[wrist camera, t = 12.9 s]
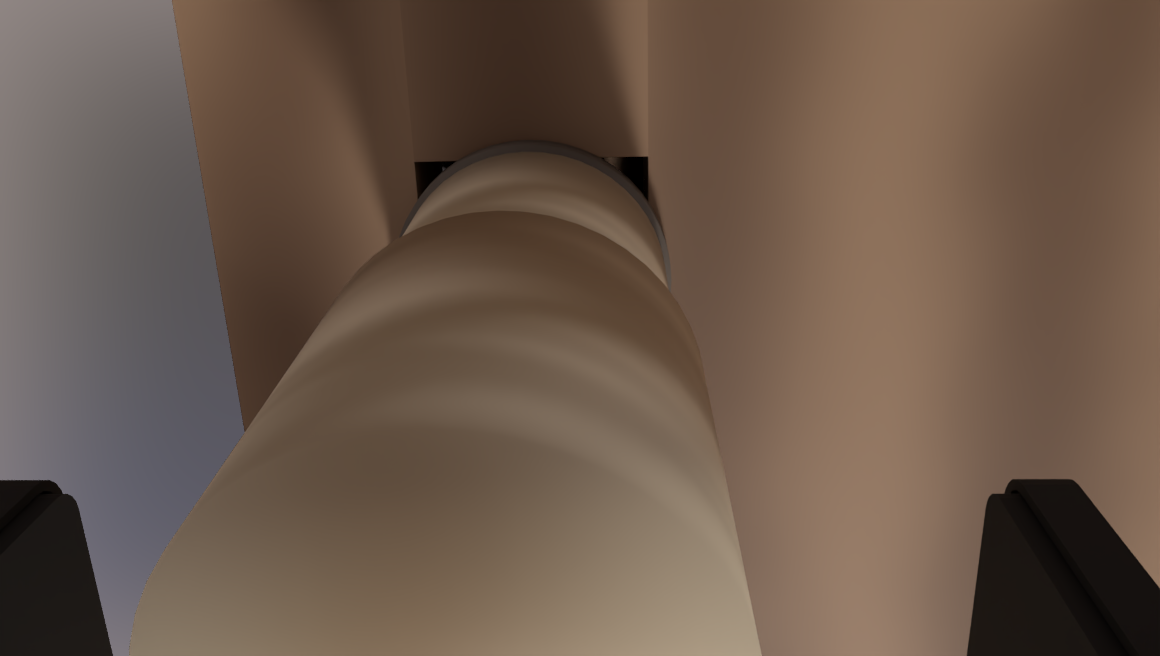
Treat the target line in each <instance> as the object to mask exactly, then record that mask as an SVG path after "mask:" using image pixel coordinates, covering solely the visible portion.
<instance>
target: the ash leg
mask: <svg viewBox="0 0 1160 656" xmlns="http://www.w3.org/2000/svg"><path fill="white" fill-rule="evenodd" d="M129 647H130V648H129V656H762V654H761V649H760V645H759V640H758V635H757V630H756V625H755V620H754V615H753V610H752V605H751V600H750V595H749V591H748V586H747V581H746V576H745V571H744V566H743V561H742V556H741V551H740V546H739V542H738V537H737V532H736V527H735V522H734V517H733V512H732V507H731V502H730V497H729V492H728V488H727V483H726V478H725V473H724V468H723V463H722V458H721V453H720V448H719V443H718V439H717V434H716V429H715V424H714V419H713V414H712V409H711V404H710V399H709V394H708V389H707V385H706V380H705V375H704V370H703V365H702V360H701V355H700V350H699V347H698V345H697V342H696V339H695V336H694V334H693V331H692V328H691V326H690V324H689V322H688V320H687V318H686V316H685V314H684V313H683V311H682V309H681V307H680V305H679V304H678V302H677V301H676V300H675V298H674V297H673V295H672V294H671V266H670V259H669V253H668V249H667V244H666V239H665V236H664V233H663V230H662V227H661V225H660V222H659V220H658V218H657V216H656V214H655V212H654V210H653V208H652V206H651V205H650V203H649V202H648V201H647V199H646V198H645V196H644V195H643V194H642V192H641V191H640V190H639V189H638V188H637V187H636V186H635V184H634V183H633V182H632V181H631V180H630V179H629V178H628V177H627V176H625V175H624V174H623V173H622V172H621V171H619V170H618V169H617V168H616V167H614V166H613V165H611V164H610V163H608V162H606V161H605V160H603V159H602V158H600V157H598V156H596V155H594V154H592V153H590V152H587V151H585V150H583V149H580V148H577V147H574V146H570V145H567V144H563V143H558V142H552V141H546V140H519V141H509V142H504V143H500V144H495V145H491V146H488V147H485V148H483V149H480V150H477V151H475V152H472V153H471V154H469V155H467V156H465V157H463V158H461V159H459V160H458V161H456V162H455V163H453V164H452V165H451V166H449V167H448V168H446V169H445V170H444V171H443V172H442V173H440V174H439V175H438V176H437V177H436V178H435V179H434V180H433V181H432V182H431V183H430V184H429V186H428V187H427V188H426V189H425V191H424V192H423V193H422V194H421V196H420V197H419V199H418V200H417V202H416V203H415V205H414V207H413V208H412V210H411V212H410V214H409V215H408V217H407V219H406V221H405V223H404V226H403V228H402V231H401V233H400V236H399V238H398V239H396V240H395V241H393V242H392V243H390V244H389V245H388V246H386V247H385V248H383V249H382V250H381V251H379V252H378V253H376V254H375V255H374V256H373V257H372V258H371V259H370V260H369V261H368V262H366V263H365V264H364V265H363V266H362V267H361V268H360V269H359V270H358V271H357V272H356V273H355V275H354V276H353V277H352V278H351V280H350V281H349V282H348V283H347V285H346V286H345V287H344V288H343V290H342V291H341V292H340V294H339V295H338V297H337V298H336V300H335V301H334V303H333V304H332V306H331V307H330V309H329V310H328V311H327V313H326V314H325V316H324V317H323V319H322V320H321V322H320V323H319V325H318V326H317V328H316V329H315V331H314V332H313V333H312V335H311V336H310V338H309V339H308V341H307V342H306V344H305V345H304V347H303V348H302V350H301V351H300V352H299V354H298V355H297V357H296V358H295V360H294V361H293V363H292V364H291V366H290V367H289V369H288V370H287V371H286V373H285V374H284V376H283V377H282V379H281V380H280V382H279V383H278V385H277V386H276V388H275V389H274V390H273V392H272V393H271V395H270V396H269V398H268V399H267V401H266V402H265V404H264V405H263V407H262V408H261V409H260V411H259V412H258V414H257V415H256V417H255V418H254V420H253V421H252V423H251V424H250V426H249V427H248V428H247V430H246V431H245V433H244V434H243V436H242V437H241V439H240V440H239V442H238V443H237V445H236V446H235V448H234V449H233V450H232V452H231V453H230V455H229V457H228V458H227V459H226V461H225V462H224V464H223V465H222V467H221V468H220V469H219V471H218V472H217V474H216V475H215V477H214V478H213V480H212V481H211V483H210V484H209V486H208V487H207V488H206V490H205V492H204V493H203V494H202V496H201V497H200V499H199V500H198V502H197V503H196V505H195V506H194V507H193V509H192V510H191V512H190V513H189V515H188V516H187V518H186V519H185V521H184V522H183V524H182V525H181V526H180V528H179V530H178V531H177V532H176V534H175V535H174V537H173V538H172V540H171V541H170V543H169V544H168V546H167V547H166V549H165V550H164V552H163V553H162V555H161V557H160V559H159V560H158V562H157V564H156V566H155V568H154V569H153V571H152V573H151V575H150V577H149V578H148V580H147V582H146V585H145V588H144V591H143V593H142V596H141V599H140V602H139V605H138V607H137V610H136V613H135V618H134V624H133V630H132V635H131V641H130V646H129Z"/></svg>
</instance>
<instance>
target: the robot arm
mask: <svg viewBox="0 0 1160 656" xmlns="http://www.w3.org/2000/svg"><path fill="white" fill-rule="evenodd" d="M0 656H113V654H112V649H111V645H110V641H109V637H108V632H107V628H106V624H105V619H104V615H103V611H102V607H101V602H100V599H99V594H98V590H97V585H96V581H95V577H94V572H93V568H92V564H91V560H90V555H89V551H88V547H87V542H86V538H85V534H84V529H83V525H82V521H81V517H80V512H79V508H78V505H77V503H76V501H75V500H74V498H73V497H72V496H70V495H68V494H63V493H62V491H61V489H60V488H59V487H58V485H57V484H56V483H54V482H52V481H50V480H0ZM967 656H1160V588H1159V587H1158V585H1157V584H1156V583H1155V581H1154V580H1153V579H1152V578H1151V576H1150V575H1149V574H1148V572H1147V571H1146V570H1145V569H1144V567H1143V566H1142V565H1141V564H1140V562H1139V561H1138V560H1137V558H1136V557H1135V556H1134V555H1133V553H1132V552H1131V551H1130V550H1129V548H1128V547H1127V546H1126V544H1125V543H1124V542H1123V541H1122V539H1121V538H1120V537H1119V535H1118V534H1117V533H1116V532H1115V530H1114V529H1113V528H1112V527H1111V525H1110V524H1109V523H1108V521H1107V520H1106V519H1105V518H1104V516H1103V515H1102V514H1101V513H1100V511H1099V510H1098V509H1097V507H1096V506H1095V505H1094V504H1093V502H1092V501H1091V500H1090V498H1089V497H1088V496H1087V495H1086V493H1085V492H1084V491H1083V490H1082V488H1081V487H1080V486H1079V484H1077V483H1076V482H1075V481H1074V480H1072V479H1012V480H1011V481H1010V482H1009V483H1008V485H1007V487H1006V489H1005V493H1004V494H991V495H990V496H989V498H988V501H987V504H986V509H985V517H984V525H983V533H982V540H981V548H980V556H979V564H978V572H977V579H976V587H975V595H974V603H973V611H972V618H971V626H970V634H969V642H968V649H967Z"/></svg>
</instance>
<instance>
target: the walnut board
mask: <svg viewBox="0 0 1160 656" xmlns="http://www.w3.org/2000/svg"><path fill="white" fill-rule="evenodd" d="M172 3H173V9H174V15H175V21H176V26H177V33H178V39H179V45H180V51H181V57H182V63H183V69H184V74H185V81H186V87H187V92H188V98H189V104H190V110H191V116H192V122H193V128H194V134H195V140H196V146H197V152H198V157H199V164H200V169H201V175H202V181H203V187H204V193H205V199H206V205H207V211H208V216H209V223H210V229H211V235H212V241H213V246H214V253H215V258H216V265H217V270H218V276H219V282H220V288H221V294H222V300H223V306H224V312H225V317H226V324H227V330H228V335H229V341H230V348H231V353H232V359H233V365H234V371H235V377H236V383H237V389H238V395H239V401H240V407H241V413H242V419H243V425H244V430H245V431H246V430H247V428H248V427H249V426H250V424H251V423H252V421H253V420H254V418H255V417H256V415H257V414H258V412H259V411H260V409H261V408H262V407H263V405H264V404H265V402H266V401H267V399H268V398H269V396H270V395H271V393H272V392H273V390H274V389H275V388H276V386H277V385H278V383H279V382H280V380H281V379H282V377H283V376H284V374H285V373H286V371H287V370H288V369H289V367H290V366H291V364H292V363H293V361H294V360H295V358H296V357H297V355H298V354H299V352H300V351H301V350H302V348H303V347H304V345H305V344H306V342H307V341H308V339H309V338H310V336H311V335H312V333H313V332H314V331H315V329H316V328H317V326H318V325H319V323H320V322H321V320H322V319H323V317H324V316H325V314H326V313H327V311H328V310H329V309H330V307H331V306H332V304H333V303H334V301H335V300H336V298H337V297H338V295H339V294H340V292H341V291H342V290H343V288H344V287H345V286H346V285H347V283H348V282H349V281H350V280H351V278H352V277H353V276H354V275H355V273H356V272H357V271H358V270H359V269H360V268H361V267H362V266H363V265H364V264H365V263H366V262H368V261H369V260H370V259H371V258H372V257H373V256H374V255H375V254H376V253H378V252H379V251H381V250H382V249H383V248H385V247H386V246H388V245H389V244H390V243H392V242H393V241H395V240H396V239H398V238H399V236H400V233H401V231H402V228H403V226H404V223H405V221H406V219H407V217H408V215H409V214H410V212H411V210H412V208H413V207H414V205H415V203H416V202H417V200H418V199H419V197H420V196H421V194H422V193H423V192H424V191H425V189H426V188H427V187H428V186H429V184H430V183H431V182H432V181H433V180H434V179H435V178H436V177H437V176H438V175H439V174H440V173H442V172H443V170H442V161H458V160H459V159H461V158H463V157H465V156H467V155H469V154H471V153H472V152H475V151H477V150H480V149H483V148H485V147H488V146H491V145H495V144H500V143H504V142H509V141H519V140H546V141H552V142H558V143H563V144H567V145H570V146H574V147H577V148H580V149H583V150H585V151H587V152H590V153H592V154H594V155H596V156H598V157H600V158H602V157H643V176H644V196H645V198H646V199H647V201H648V202H649V203H650V205H651V206H652V208H653V210H654V212H655V214H656V216H657V218H658V220H659V222H660V225H661V227H662V230H663V233H664V236H665V239H666V244H667V249H668V253H669V259H670V266H671V294H672V295H673V297H674V298H675V300H676V301H677V302H678V304H679V305H680V307H681V309H682V311H683V313H684V314H685V316H686V318H687V320H688V322H689V324H690V326H691V328H692V331H693V334H694V336H695V339H696V342H697V345H698V347H699V350H700V355H701V360H702V365H703V370H704V375H705V380H706V385H707V389H708V394H709V399H710V404H711V409H712V414H713V419H714V424H715V429H716V434H717V439H718V443H719V448H720V453H721V458H722V463H723V468H724V473H725V478H726V483H727V488H728V492H729V497H730V502H731V507H732V512H733V517H734V522H735V527H736V532H737V537H738V542H739V546H740V551H741V556H742V561H743V566H744V571H745V576H746V581H747V586H748V591H749V595H750V600H751V605H752V610H753V615H754V620H755V625H756V630H757V635H758V640H759V645H760V649H761V654H762V656H967V649H968V642H969V634H970V626H971V618H972V611H973V603H974V595H975V587H976V579H977V572H978V564H979V556H980V548H981V540H982V533H983V525H984V517H985V509H986V504H987V501H988V498H989V496H990V495H991V494H1004V493H1005V489H1006V487H1007V485H1008V483H1009V482H1010V481H1011V480H1012V479H1072V480H1074V481H1075V482H1076V483H1077V484H1079V486H1080V487H1081V488H1082V490H1083V491H1084V492H1085V493H1086V495H1087V496H1088V497H1089V498H1090V500H1091V501H1092V502H1093V504H1094V505H1095V506H1096V507H1097V509H1098V510H1099V511H1100V513H1101V514H1102V515H1103V516H1104V518H1105V519H1106V520H1107V521H1108V523H1109V524H1110V525H1111V527H1112V528H1113V529H1114V530H1115V532H1116V533H1117V534H1118V535H1119V537H1120V538H1121V539H1122V541H1123V542H1124V543H1125V544H1126V546H1127V547H1128V548H1129V550H1130V551H1131V552H1132V553H1133V555H1134V556H1135V557H1136V558H1137V560H1138V561H1139V562H1140V564H1141V565H1142V566H1143V567H1144V569H1145V570H1146V571H1147V572H1148V574H1149V575H1150V576H1151V578H1152V579H1153V580H1154V581H1155V583H1156V584H1157V585H1158V587H1159V588H1160V0H172Z"/></svg>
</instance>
